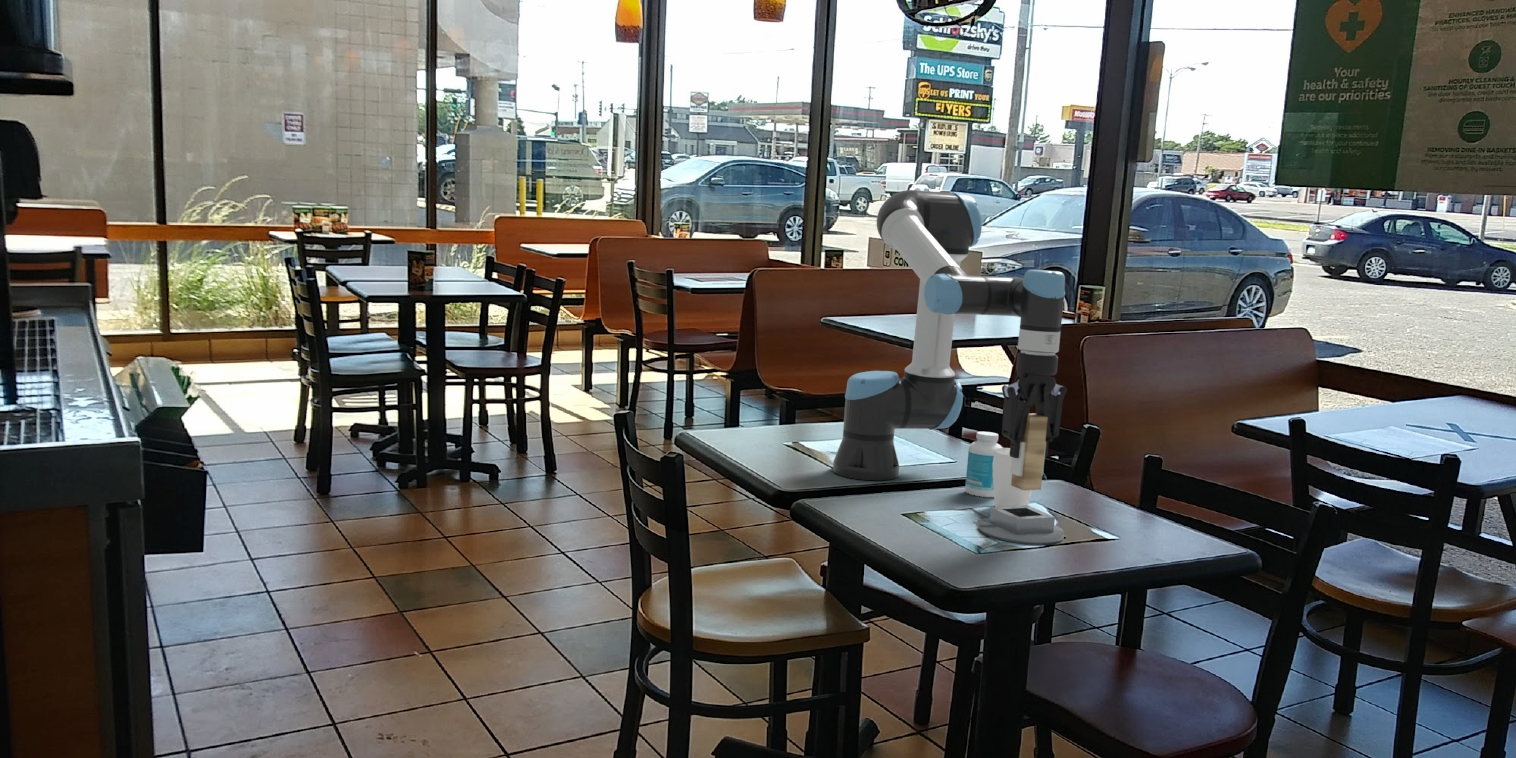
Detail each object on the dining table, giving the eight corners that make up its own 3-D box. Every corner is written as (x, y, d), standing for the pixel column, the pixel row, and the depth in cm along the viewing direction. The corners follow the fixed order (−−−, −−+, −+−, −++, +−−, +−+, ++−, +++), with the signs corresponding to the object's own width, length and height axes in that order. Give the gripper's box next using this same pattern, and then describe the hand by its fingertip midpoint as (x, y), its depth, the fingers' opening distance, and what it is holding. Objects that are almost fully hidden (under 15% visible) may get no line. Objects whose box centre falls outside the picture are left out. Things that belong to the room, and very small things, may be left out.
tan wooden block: (1010, 485, 219) (1017, 413, 217) (1028, 484, 220) (1034, 413, 219) (1023, 490, 215) (1030, 417, 213) (1040, 489, 217) (1047, 417, 215)
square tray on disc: (962, 523, 224) (964, 503, 223) (1029, 519, 230) (1031, 499, 229) (1010, 547, 209) (1012, 525, 208) (1081, 541, 215) (1083, 521, 215)
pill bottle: (997, 500, 244) (1002, 438, 242) (962, 495, 246) (967, 434, 244) (1001, 492, 251) (1006, 432, 249) (967, 488, 253) (972, 428, 251)
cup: (1033, 516, 232) (1039, 458, 231) (988, 511, 234) (993, 454, 232) (1032, 505, 241) (1037, 450, 239) (988, 501, 243) (993, 446, 241)
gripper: (1012, 354, 208) (1000, 480, 211) (1087, 355, 214) (1075, 476, 218) (988, 349, 214) (978, 471, 218) (1062, 350, 221) (1051, 468, 224)
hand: (1026, 473), depth 218 cm, fingers closed on tan wooden block, 4 cm apart
